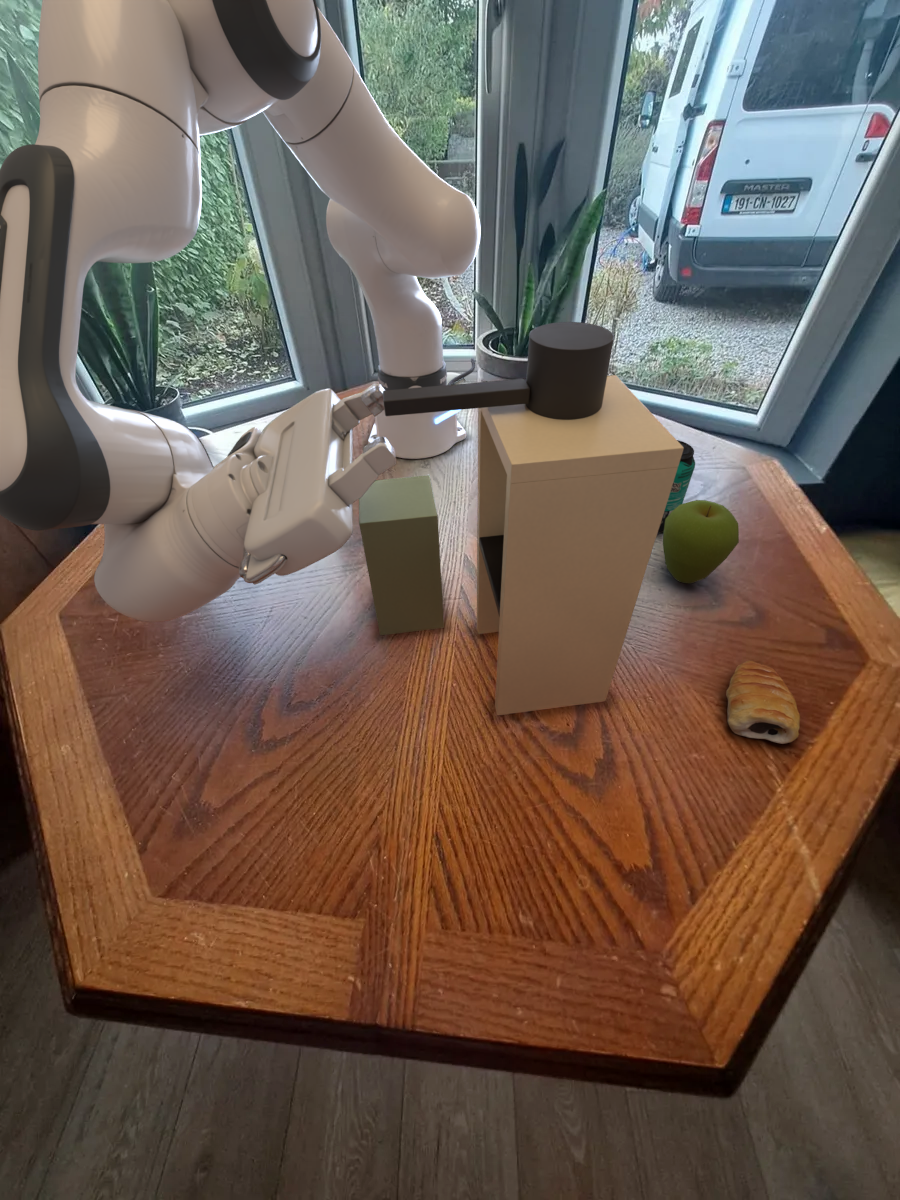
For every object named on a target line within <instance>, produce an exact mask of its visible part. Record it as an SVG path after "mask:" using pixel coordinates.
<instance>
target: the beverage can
mask: <svg viewBox="0 0 900 1200" xmlns="http://www.w3.org/2000/svg"><path fill="white" fill-rule="evenodd" d="M676 440H677V441H678V442H679V443H680V444H681V445H682V446H683V447H684V449H683V452H682V456H681V459H680V462H679V465H678V469H677V472H676V475H675V478H674V481H673V485H672V488H671V491H670V494H669V498H668V501H667V504H666V507H665V510H664V514H663V517H662V520H661V523H660V527H659V530H658V533H661V532H664V525H665V519H666V518H667V517H668V515H669V514H670V513H671V512H672V511H673V510H674V509H675V508H676V507H678V506H679V505H680V504H683V503H684V500H685V497H686V496H687V491H688V489H689V486H690V482H691V480H692V477H693V474H694V471H695V468H696V460H695V458H694V457H695V456H694V455H695V449H694V448H693V446H691V444H688V443H687V442H685V441H682V440H679V439H676Z"/></svg>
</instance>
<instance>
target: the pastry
mask: <svg viewBox="0 0 900 1200" xmlns="http://www.w3.org/2000/svg"><path fill="white" fill-rule="evenodd" d="M725 695H726V698H727V711H726V712H727V713H726V714H727V724H728V727H729V728H730V730H731V731H732V732H733V733H734V734H736V735H738V736H742V737H744V738H745V737H746V738H749V739H756V740H757V739H758V740H759V739H761V740H767V741H769V742H772V743H777V744H782V745H784V744H788V743H792V742H793V741H795V740H797V738H799V735H800V733H799V730H800V728H801V727H800V724H801V723H800V721H801V714H800V713H799V710H798V705H797V702H796V699H795V697H794V695H793V693H792V692H791V691H790V689H789V687H788V686H787V685H786V684H785V681H784V680H783V679H782V677H781V675H779V673H778V672H777V671H776V670H775V669H773V667H770V666H768V665H765V664H762V663H758V662H756V661H753V660H747V661H745V662H742V663H740V664H738V665H737V666H736V668H735V671H734V673H733V674H732V676H731V677H730V679H729V686H728V688H727V689H726V692H725Z"/></svg>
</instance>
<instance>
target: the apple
mask: <svg viewBox="0 0 900 1200" xmlns="http://www.w3.org/2000/svg"><path fill="white" fill-rule="evenodd" d="M739 527H740V526H739V522H738V520H737V518H736V517H735V515H734V514H733V513H732V512H731V511H730V510H729V509H728V508H727V507H726V506H725V505H723V504H720V503H718V502H714V501H711V500H705V499H695V500H690V501H687V502H683V504H680V505H679V506H678V507H676V508H675V509H674V510H673V511H672V512H671V513H670V514H669V515H668V517H667V518H666V519H665V525H664V531H663V533H662V534H663V535H662V549H663V557H664V564H665V566H666V569H667V570H668V572H669V573H670V575H671V576H672V577H673V578H674V579H675V581H678V582H679V583H683V584H694V583H697V582H699V581H702V580H704V579H706V578H707V577H708V576H710V575H711V574H712V572H714V571H715V570H716V569H717V568H718V567H719V566H720V565H721V564H723V563H724V562H725V561H726V559H727V558H728V557H729V556H730V555H731V553H732V552H733V551H734V549H735V548H736V547H737V546H738V544H739V542H740V541H739V538H740V536H739V535H740V528H739Z"/></svg>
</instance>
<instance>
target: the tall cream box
mask: <svg viewBox="0 0 900 1200" xmlns="http://www.w3.org/2000/svg"><path fill="white" fill-rule="evenodd" d="M477 410H478V411H477V505H476V506H477V510H476V511H477V516H476V517H477V521H476V522H477V524H476V526H477V528H476V532H477V533H476V543H477V544H476V631H477V634H478V635H483V634H492V633H498V639H497V641H498V642H497V659H496V660H497V661H496V678H495V695H494V696H495V698H494V709H495V713H496V716H505V715H513V714H521V713H526V712H527V713H528V712H535V711H541V710H549V709H557V708H564V707H566V708H567V707H572V706H573V707H574V706H579V705H588V704H595V703H603V702H606V701H607V698H608V694H609V690H610V688H611V685H612V681H613V678H614V675H615V671H616V669H617V665H618V662H619V659H620V656H621V652H622V649H623V645H624V642H625V640H626V637H627V633H628V630H629V627H630V623H631V619H632V618H633V613H634V611H635V607H636V605H637V601H638V597H639V595H640V591H641V588H642V584H643V582H644V578H645V574H646V571H647V568H648V565H649V562H650V560H651V556H652V552H653V549H654V546H655V543H656V540H657V537H658V533H659V532H658V530H659V527H660V523H661V520H662V517H663V514H664V510H665V507H666V504H667V501H668V498H669V494H670V491H671V488H672V485H673V481H674V478H675V475H676V472H677V469H678V465H679V462H680V459H681V456H682V452H683V449H684V447H683V446H682V445H681V444H680V443H679V442H678V441H677V440H678V439H676V438H675V436H674V435H673V434H672V433H671V432H669V430H668V429H667V428H666V426H664V425H663V423H661V421H659V419H658V418H657V417H656V416H655V415H654V414H653V413H652V411H650V410H649V409H648V408H647V407H646V405H644V404H643V402H642V401H641V400H640V399H639V398H638V397H637V396H636V395H635V393H634V392H632V390H631V389H630V388H629V387H627V385H626V384H625V383H624V382H623V380H621V379H620V378H619V377H618V376H617V374H613V375H612V374H611V375H607V380H606V386H605V391H604V397H603V403H602V407H601V409H600V410H599V411H598V412H597V413H595V414H593V415H591V416H589V417H585V418H580V419H572V420H561V419H552V418H547V417H543V416H540V415H538V414H535V413H533V412H532V411H530V410H529V409H528V408H527V407H526V405H525V404H518V405H507V406H496V407H485V408H477Z"/></svg>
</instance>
